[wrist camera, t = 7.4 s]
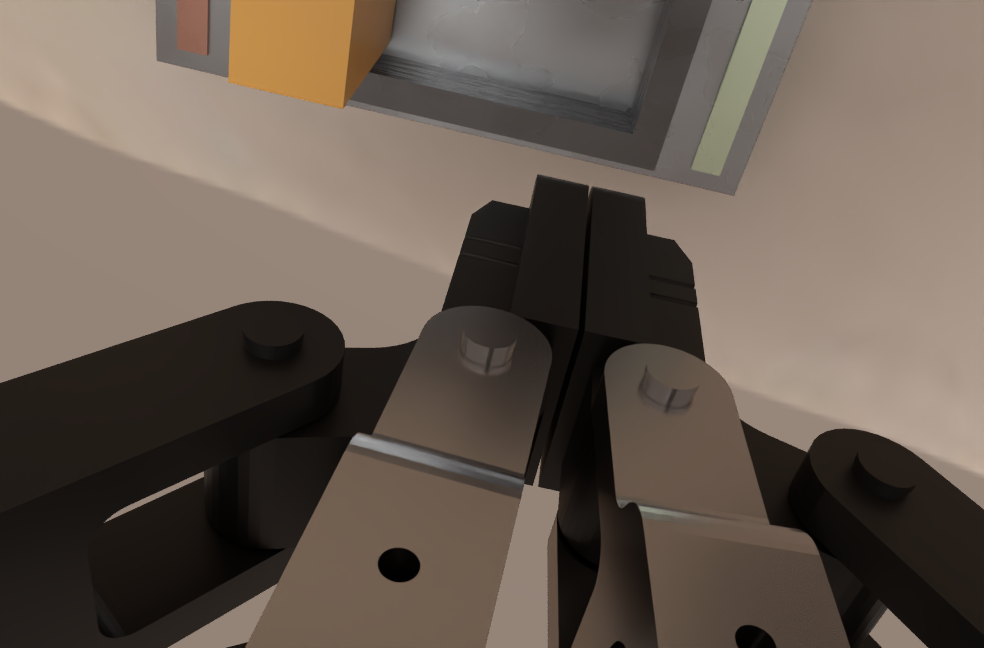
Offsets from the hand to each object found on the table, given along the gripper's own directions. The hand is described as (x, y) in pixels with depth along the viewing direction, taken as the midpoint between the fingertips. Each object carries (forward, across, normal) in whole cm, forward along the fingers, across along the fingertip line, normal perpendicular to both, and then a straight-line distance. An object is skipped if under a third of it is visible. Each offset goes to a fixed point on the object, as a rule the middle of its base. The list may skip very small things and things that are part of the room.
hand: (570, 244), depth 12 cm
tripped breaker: (+11, +6, 0) cm, 13 cm away
